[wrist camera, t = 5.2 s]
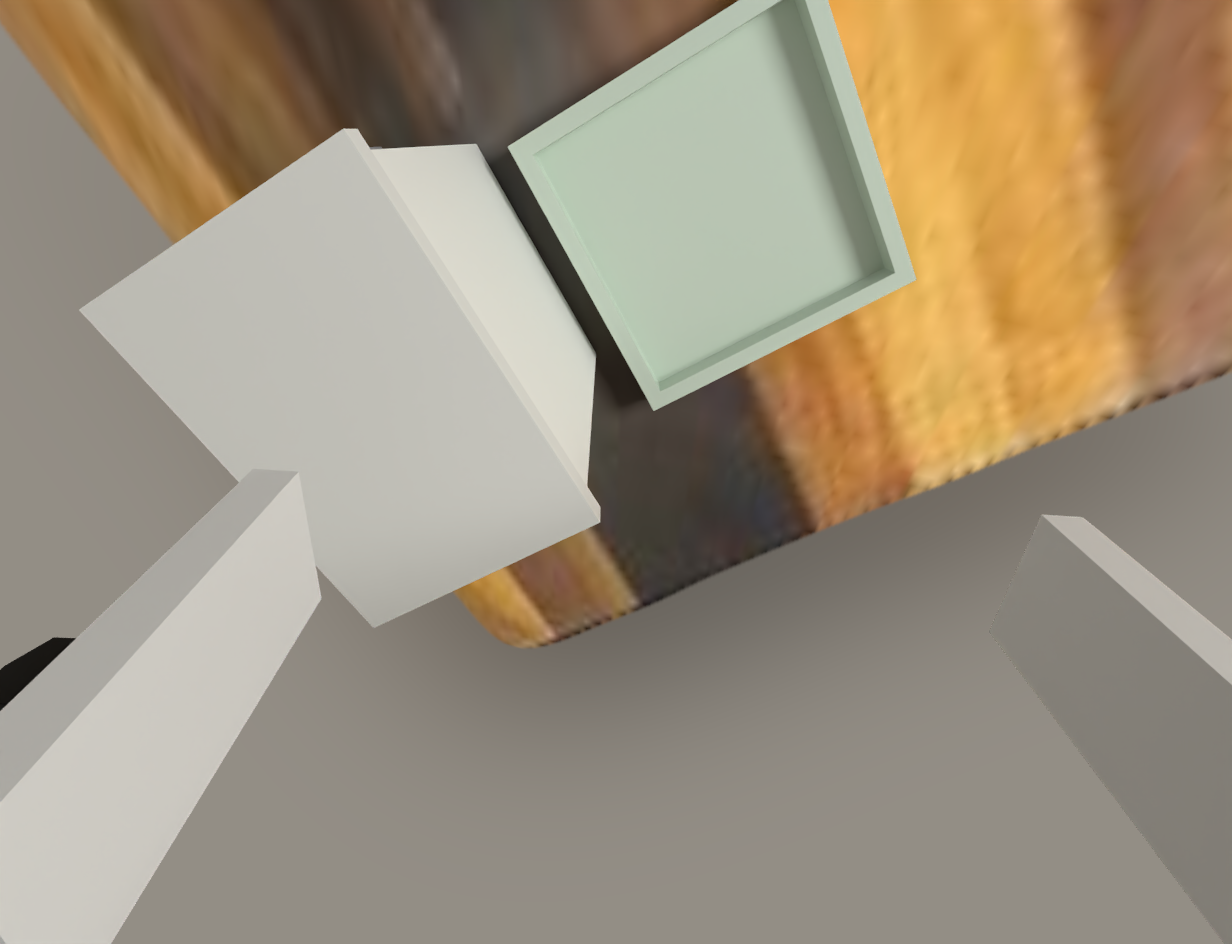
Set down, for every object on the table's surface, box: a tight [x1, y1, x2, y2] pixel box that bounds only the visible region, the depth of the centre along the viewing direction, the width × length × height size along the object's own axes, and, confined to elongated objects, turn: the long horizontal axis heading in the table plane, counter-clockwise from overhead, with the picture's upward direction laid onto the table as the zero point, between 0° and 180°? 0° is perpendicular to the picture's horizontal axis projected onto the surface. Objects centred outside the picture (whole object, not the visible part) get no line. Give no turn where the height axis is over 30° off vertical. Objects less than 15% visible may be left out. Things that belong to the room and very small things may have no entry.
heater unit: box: [79, 129, 600, 628], centre depth 22 cm, size 11×8×15 cm
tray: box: [508, 0, 916, 411], centre depth 27 cm, size 12×12×2 cm
